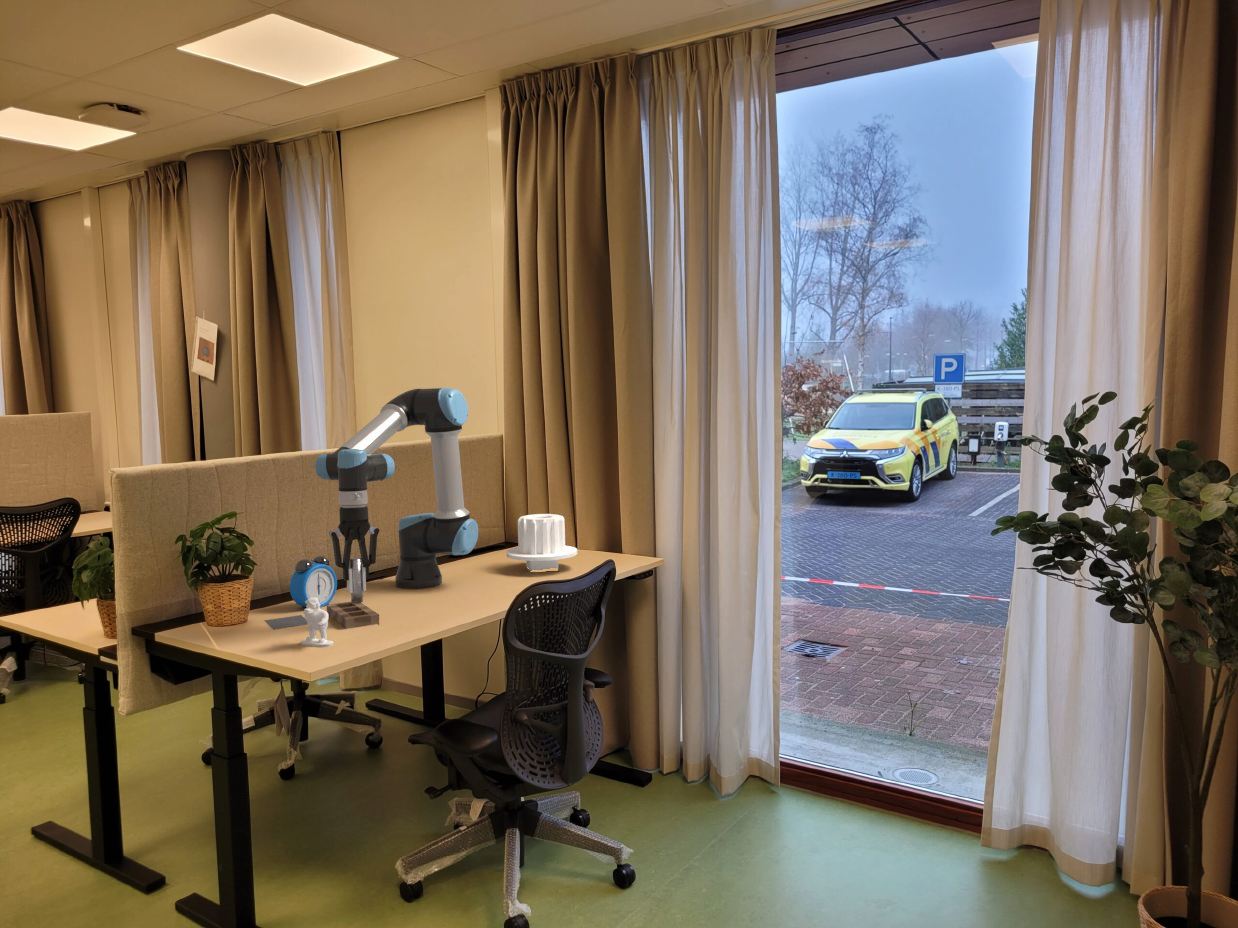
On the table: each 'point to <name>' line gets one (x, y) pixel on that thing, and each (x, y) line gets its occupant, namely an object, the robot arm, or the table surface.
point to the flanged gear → (541, 541)
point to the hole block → (352, 614)
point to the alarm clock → (313, 581)
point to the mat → (286, 622)
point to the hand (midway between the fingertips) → (356, 590)
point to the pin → (356, 580)
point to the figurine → (316, 624)
